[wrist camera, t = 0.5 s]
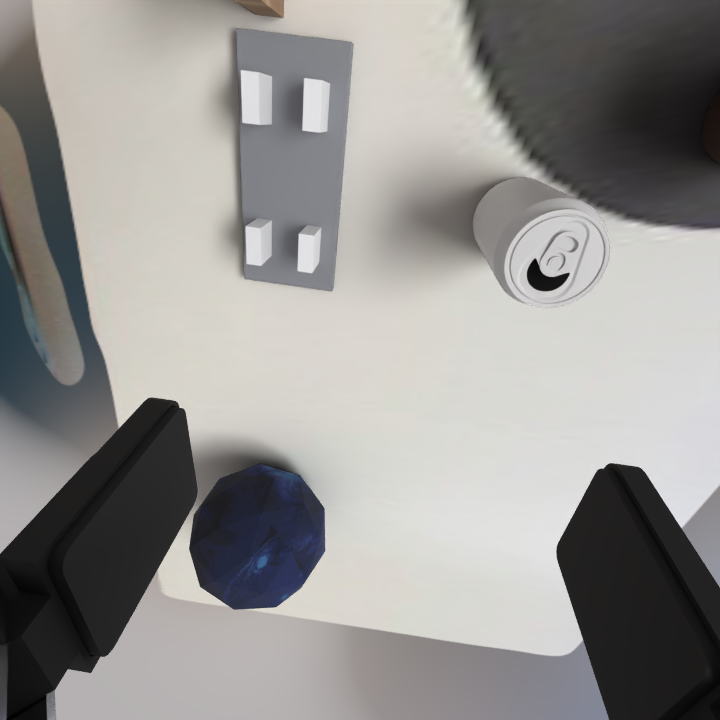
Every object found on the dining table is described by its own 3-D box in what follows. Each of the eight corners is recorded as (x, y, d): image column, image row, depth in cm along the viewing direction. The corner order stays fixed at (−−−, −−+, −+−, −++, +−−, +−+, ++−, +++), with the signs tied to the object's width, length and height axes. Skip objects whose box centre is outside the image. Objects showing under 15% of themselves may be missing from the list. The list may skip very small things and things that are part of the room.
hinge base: (241, 30, 29) (218, 18, 26) (353, 44, 29) (345, 34, 26) (248, 275, 39) (232, 290, 35) (333, 287, 38) (325, 304, 35)
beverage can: (457, 240, 35) (476, 291, 25) (497, 161, 32) (538, 182, 21) (525, 269, 36) (572, 330, 25) (571, 194, 32) (645, 230, 22)
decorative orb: (331, 462, 42) (200, 579, 34) (366, 557, 49) (264, 673, 40) (256, 422, 52) (140, 505, 43) (294, 506, 59) (200, 591, 50)
